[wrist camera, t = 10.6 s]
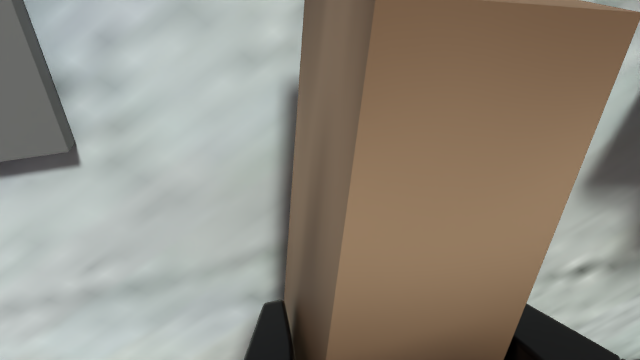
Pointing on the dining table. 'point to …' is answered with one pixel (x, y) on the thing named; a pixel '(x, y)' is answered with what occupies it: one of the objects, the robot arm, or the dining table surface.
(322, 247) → the plain wood plank
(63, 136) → the mat
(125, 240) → the dining table surface
